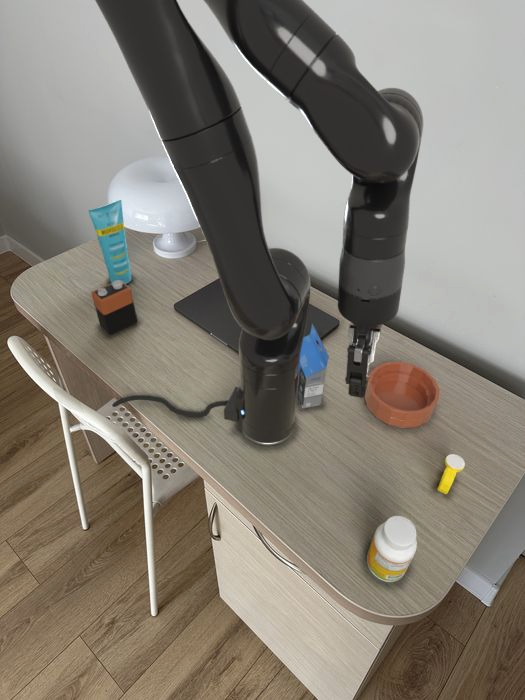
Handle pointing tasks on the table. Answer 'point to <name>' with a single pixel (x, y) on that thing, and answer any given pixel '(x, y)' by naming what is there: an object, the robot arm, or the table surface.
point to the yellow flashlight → (450, 472)
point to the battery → (114, 307)
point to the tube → (112, 240)
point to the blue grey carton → (311, 370)
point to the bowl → (401, 394)
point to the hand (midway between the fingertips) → (361, 373)
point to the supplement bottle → (392, 549)
